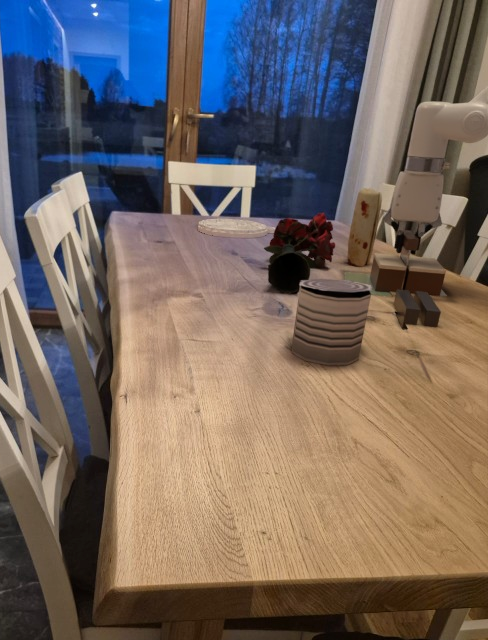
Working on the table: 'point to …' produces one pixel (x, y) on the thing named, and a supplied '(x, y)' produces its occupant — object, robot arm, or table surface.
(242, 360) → the table surface
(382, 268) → the cake slice
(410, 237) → the knife
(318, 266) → the rose vase
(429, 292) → the cake
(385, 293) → the green flat square board
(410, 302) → the knife block
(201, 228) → the medallion
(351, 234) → the food model
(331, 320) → the can
